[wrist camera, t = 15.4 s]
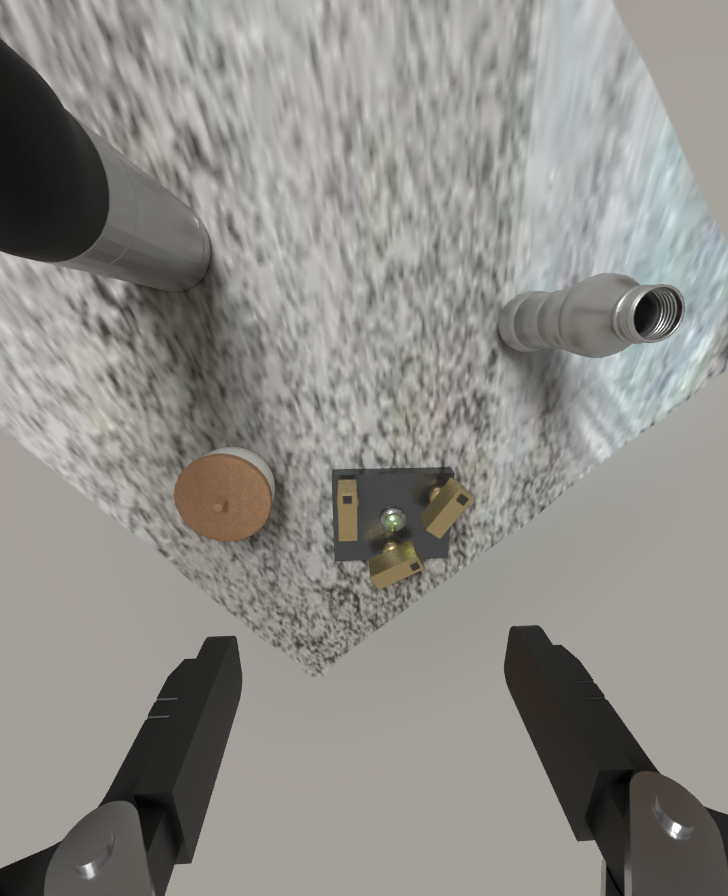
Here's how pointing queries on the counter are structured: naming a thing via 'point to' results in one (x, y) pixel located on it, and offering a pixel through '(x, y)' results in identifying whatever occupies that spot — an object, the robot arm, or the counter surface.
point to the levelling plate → (390, 511)
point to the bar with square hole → (394, 563)
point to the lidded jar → (226, 494)
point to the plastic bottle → (592, 316)
